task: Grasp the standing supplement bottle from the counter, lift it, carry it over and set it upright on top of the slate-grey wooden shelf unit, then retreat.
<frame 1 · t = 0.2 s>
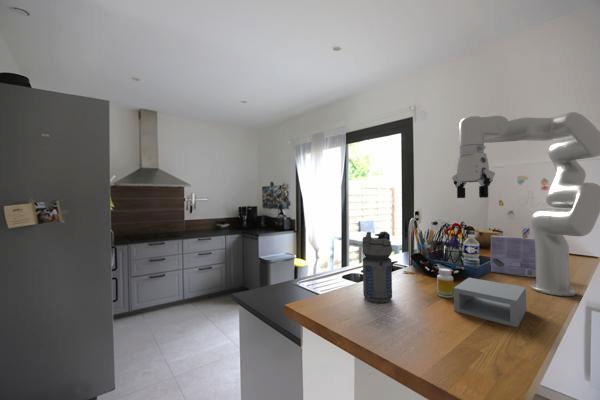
hand: (471, 197, 98), 37 cm above the counter, tool pointing down, fingers open, 9 cm apart
beverage bottle: (379, 299, 98), on the counter
shelf unit: (490, 310, 86), on the counter
cake pan box: (515, 274, 126), on the counter
supplement bottle: (445, 296, 100), on the counter
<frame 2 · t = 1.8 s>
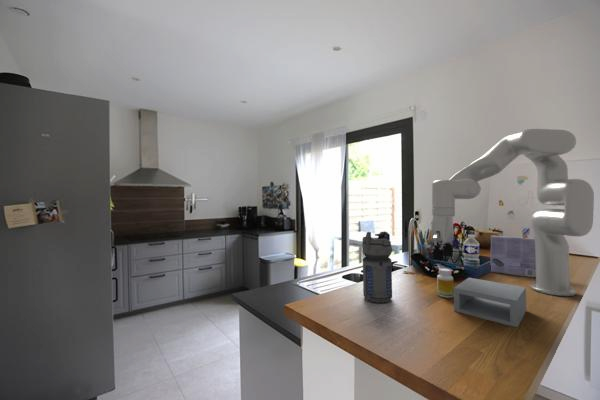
hand: (443, 258, 100), 14 cm above the counter, tool pointing down, fingers open, 9 cm apart
nothing on the counter moved.
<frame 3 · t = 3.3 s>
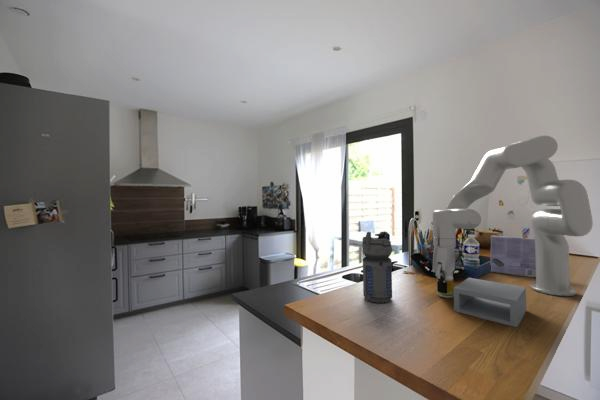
hand: (445, 290, 100), 2 cm above the counter, tool pointing down, fingers closed on supplement bottle, 5 cm apart
supplement bottle: (445, 295, 100), on the counter, touching gripper
everything else where it was.
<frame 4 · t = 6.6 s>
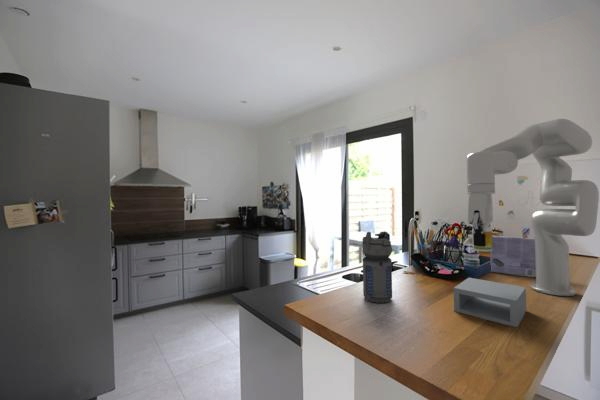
hand: (482, 244, 88), 21 cm above the counter, tool pointing down, fingers closed on supplement bottle, 5 cm apart
supplement bottle: (482, 250, 88), point 19 cm above the counter, touching gripper
everything else where it was.
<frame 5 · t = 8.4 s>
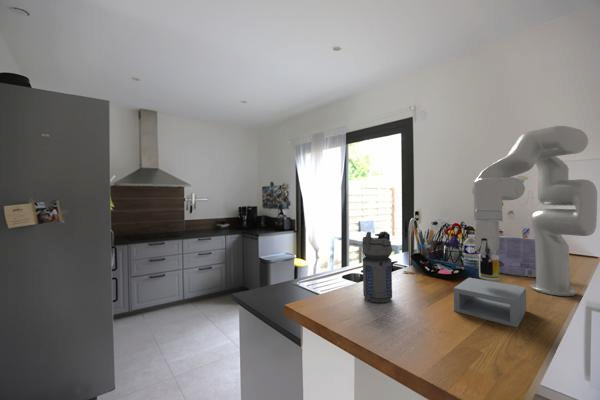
hand: (489, 271, 86), 13 cm above the counter, tool pointing down, fingers closed on supplement bottle, 5 cm apart
supplement bottle: (489, 278, 86), point 10 cm above the counter, touching gripper
everything else where it was.
when the fingers open (10 cm above the counter, at t = 9.7 s): supplement bottle stays where it is, resting on shelf unit.
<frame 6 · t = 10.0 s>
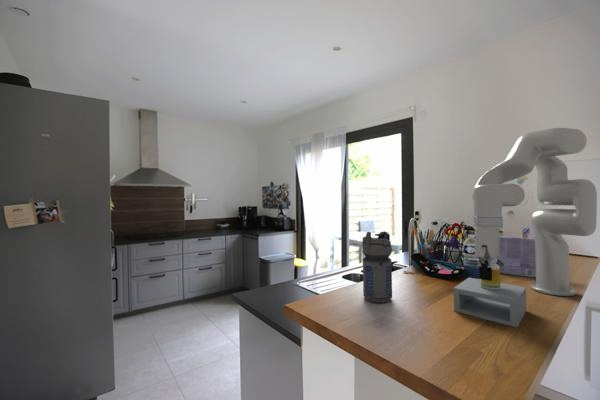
hand: (489, 276, 86), 11 cm above the counter, tool pointing down, fingers open, 8 cm apart
supplement bottle: (489, 288, 86), point 7 cm above the counter, touching shelf unit
everything else where it was.
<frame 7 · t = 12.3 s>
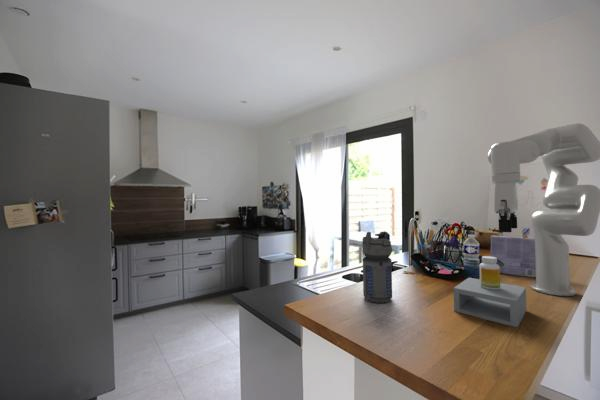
hand: (508, 230, 90), 25 cm above the counter, tool pointing down, fingers open, 9 cm apart
nothing on the counter moved.
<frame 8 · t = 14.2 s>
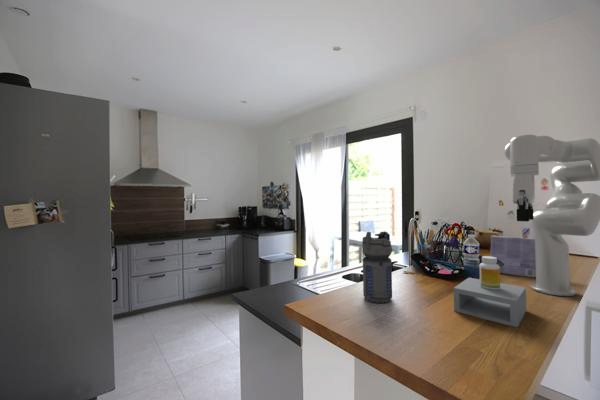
hand: (525, 220, 93), 28 cm above the counter, tool pointing down, fingers open, 9 cm apart
nothing on the counter moved.
at the end: supplement bottle inside the target area on the shelf unit (0.2 cm from its centre), point 7.3 cm above the shelf unit's base; supplement bottle tilted 0°; the gripper is holding nothing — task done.
